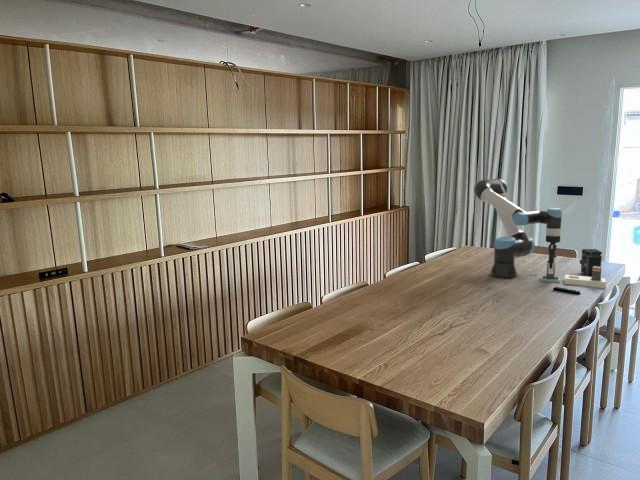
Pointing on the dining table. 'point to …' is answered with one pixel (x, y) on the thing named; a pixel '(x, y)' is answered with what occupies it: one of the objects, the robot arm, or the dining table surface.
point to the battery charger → (587, 279)
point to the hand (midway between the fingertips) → (551, 271)
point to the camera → (590, 260)
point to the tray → (556, 279)
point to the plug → (550, 276)
